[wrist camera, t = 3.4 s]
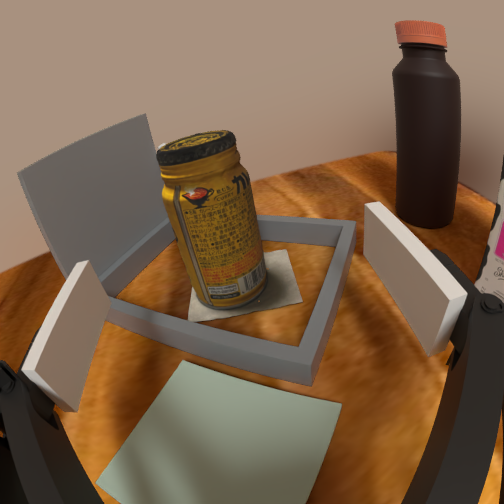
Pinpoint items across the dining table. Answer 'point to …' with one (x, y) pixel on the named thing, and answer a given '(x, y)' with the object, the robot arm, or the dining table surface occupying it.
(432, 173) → the bottle
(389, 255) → the robot arm
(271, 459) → the pad
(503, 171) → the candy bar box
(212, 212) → the condiment
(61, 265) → the grey holder frame
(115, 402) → the dining table surface
